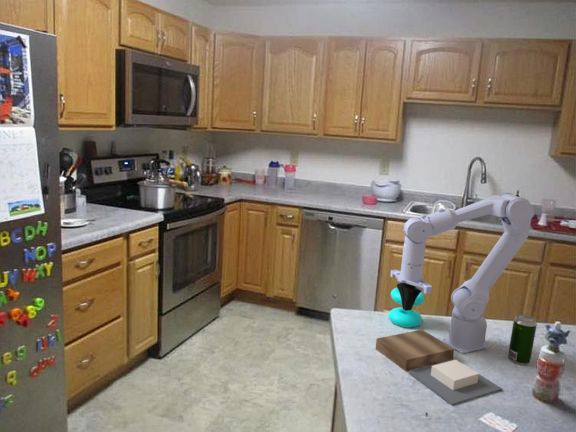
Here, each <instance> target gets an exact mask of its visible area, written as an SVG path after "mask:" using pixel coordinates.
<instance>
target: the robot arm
mask: <svg viewBox="0 0 576 432" xmlns="http://www.w3.org/2000/svg"><path fill="white" fill-rule="evenodd" d="M488 215H489V216H490V215H491V216H494V217H498V218H500V220H501V224H502V227H503V229H504V230H503V231H504V232H503V233H502V235H501V236H500V238H499V239H498V241H497V242H496V243H495V245H494V246H493V248H492V249H491V250H490V252H489V253H488V255H486V257H485V259H484V260H483V262H482V263H481V265H479V267H478V269H477V270H476V272H475V273H474V274H473V276H472V277H471V278H470V279H468V280H465V281H464V282H463V283H462V285H461V286H459V287H458V288H456V289H454V291H452V293H451V298H450V299H451V302H452V304H453V305H454V306H453V309H452V311H451V319H450V326H449V331H448V332H449V334H448V337H446V338H442V339H441V340H440V341H442V342H444V343H446V344H447V345H449V346H451V347H452V348H454V351H457V352H459V353H461V354H466V353H467V354H468V353H471V352H475V351H480V350H484V349H487V345H485V342H486V336H487V335H486V334H487V327H488V326H487V325H488V323H487V320H486V318H485V317H484V314H485V312H486V306H487V305H488V303H489V302H490V290H491V289H492V288H493V286H494V285H495V283H496V282H497V280H498V279H499V278H500V277H501V275H502V274H503V273H504V272H505V270H506V268H507V267H508V265H510V263H511V261H512V260H513V258H514V257H515V256H516V255H517V253H518V252H519V250H520V249H521V247H522V246H523V245H524V243H525V242H526V240H527V239H528V237H529V235H530V230H531V223H532V219H533V217H534V216H535V212H534V209H533V207H532V203H531V201H529V200H528V199H526V198H525V197H519V196H517V195H515V194H513V193H511V192H503V193H500V194H494V195H491V196H489V197H487V198H484V199H481V200H478V201H475V202H473V203H471V204H468V205H466V206H463V207H461V208H458V209H455V210H451V209H450V208H445V209H444V208H443V207H440V208H437V211H436V212H431V213H429V214H420V215H419V218H418V217H411V218H409V219H408V220H407V221H406V222H405V223H404V225H403V226H402V230H403V233H404V242H403V246H402V256H401V265H400V266H401V267H400V270H398V269H391V270H390V277H391V278H395V279H397V282H399V283H397V284H396V288H398V290H399V292H400V296H401V300H402V305H401V307H403V309H404V310H405V311H408V310H411V309H413V308H414V306H413V304H414V302H415V300H416V298H417V297H418V295H419V294H420V293H421V292H422V293H423V294H425V295H429V294H430V295H431V294H433V286H432V285H431V284H429V283H428V282H427V281H425V280H424V279H423V270H424V262H425V254H426V245H427V244H426V243H427V241H428V240H429V238H430V237H433V236H436V235H439V234H442V233H446V232H449V231H452V230H455V228H456V227H457V225H458V224H459V223H462V222H466V221H469V220H473V219H476V218H480V217H485V216H488Z"/></svg>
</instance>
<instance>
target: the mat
mask: <svg viewBox="0 0 576 432" xmlns="http://www.w3.org/2000/svg"><path fill="white" fill-rule="evenodd" d="M432 366H433V365H428V366H424V367H420V368H416V369H412V370H408V374H409V375H410V376H411V377H413V378H414V379H416V380H417V381H418V382H419V383H420V384H422V385H424V386H425V387H426V388H427V389H429V390H430V391H432V393H434V394H436V396H439V398H441V399H443V401H445V402H447V403H448V404H449V405H450V406H454V405H455V406H456V405H458V404H461V403H465V402H467V401H468V402H469V401H471V400H474V399H477V398H481V397H484V396H487V395H491V394H493V393H496V392H497V393H498V392H500V391H502V390H503V388H502V387H500V386H499V385H498V384H496V383H494V382H493V381H491V380H489V379H488V378H486V377H485V376H484V375H483V376H482V375H481V374H479V373H478V374H479V375H478V381H477V383H475V384H472V385H469V386H465V387H462V388H459V389H456V390H452V389H450V388H449V387H447V386H446V385H445V384H443V383H442V382H440V381H439V380H437V379H436V378H434V377H433V376H431V369H432Z"/></svg>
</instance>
